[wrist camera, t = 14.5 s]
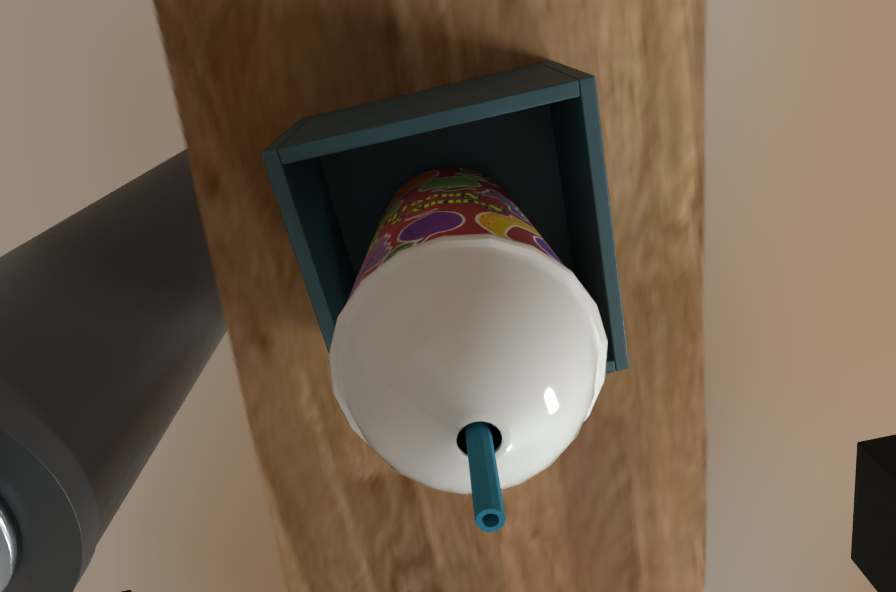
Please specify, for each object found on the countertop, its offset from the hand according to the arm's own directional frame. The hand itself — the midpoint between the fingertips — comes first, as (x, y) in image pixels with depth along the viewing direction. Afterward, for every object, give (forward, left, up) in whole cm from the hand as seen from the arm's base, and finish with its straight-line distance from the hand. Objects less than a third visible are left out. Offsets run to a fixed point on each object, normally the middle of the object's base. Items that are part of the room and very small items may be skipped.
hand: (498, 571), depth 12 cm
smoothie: (0, 0, -22) cm, 22 cm away
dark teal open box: (0, 0, -23) cm, 23 cm away
